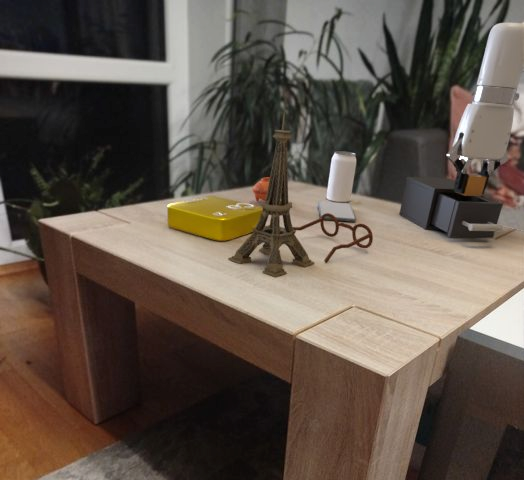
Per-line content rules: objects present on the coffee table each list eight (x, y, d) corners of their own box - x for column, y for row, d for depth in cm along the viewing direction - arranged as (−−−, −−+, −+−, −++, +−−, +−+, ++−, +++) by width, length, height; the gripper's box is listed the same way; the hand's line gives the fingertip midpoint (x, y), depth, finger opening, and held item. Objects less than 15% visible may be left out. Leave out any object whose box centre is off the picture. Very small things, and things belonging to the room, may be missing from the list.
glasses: (371, 252, 96) (376, 226, 93) (325, 263, 88) (329, 235, 85) (321, 234, 104) (324, 210, 102) (275, 243, 96) (277, 217, 94)
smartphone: (320, 215, 114) (318, 200, 127) (319, 220, 115) (317, 204, 128) (356, 219, 114) (350, 203, 127) (355, 223, 115) (350, 207, 128)
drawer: (504, 243, 105) (515, 208, 101) (460, 243, 102) (470, 207, 99) (461, 222, 119) (469, 191, 115) (421, 221, 117) (429, 189, 113)
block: (470, 192, 110) (476, 173, 108) (481, 196, 106) (486, 177, 105) (454, 191, 109) (459, 172, 107) (464, 195, 106) (470, 176, 104)
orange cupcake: (289, 206, 123) (286, 178, 120) (259, 213, 123) (255, 185, 119) (281, 197, 130) (277, 171, 126) (252, 204, 129) (247, 177, 125)
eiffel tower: (268, 248, 93) (280, 98, 81) (314, 263, 87) (334, 104, 75) (228, 259, 86) (235, 96, 74) (275, 277, 80) (291, 103, 68)
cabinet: (470, 230, 117) (481, 190, 112) (425, 229, 114) (434, 188, 110) (440, 215, 128) (449, 178, 124) (399, 214, 126) (406, 176, 121)
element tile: (210, 214, 112) (211, 192, 110) (266, 228, 105) (268, 205, 103) (163, 226, 101) (162, 202, 98) (221, 243, 94) (222, 217, 91)
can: (351, 203, 133) (359, 155, 127) (327, 201, 132) (333, 153, 127) (348, 198, 138) (355, 152, 133) (325, 196, 138) (331, 150, 132)
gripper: (518, 99, 104) (491, 190, 113) (445, 93, 100) (424, 187, 109) (542, 102, 97) (513, 198, 106) (466, 95, 94) (442, 195, 103)
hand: (468, 191), depth 108 cm, fingers closed on block, 4 cm apart
